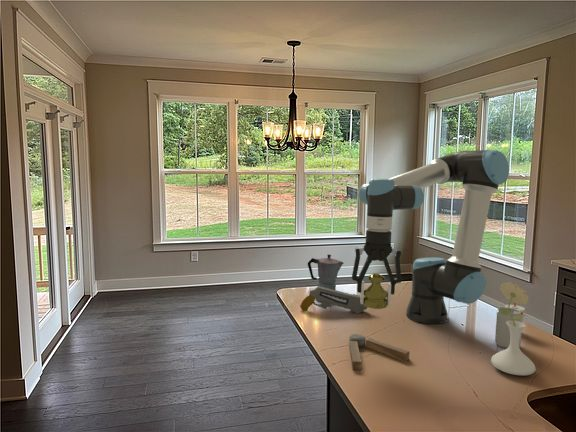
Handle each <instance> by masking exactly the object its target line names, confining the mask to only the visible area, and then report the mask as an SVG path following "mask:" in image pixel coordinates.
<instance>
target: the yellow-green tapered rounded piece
mask: <svg viewBox="0 0 576 432" xmlns="http://www.w3.org/2000/svg"><path fill="white" fill-rule="evenodd" d="M367 279H368V280H369V281H370V282H371V284H370V285H369V286H368V287H366V288H364V299H363V305H364V306H366V307H367V309H368V308H370V309H374V310H383V309H385V308H387V307H388V305H387V301H388V300H387V296H388V292H387V290H386V289H384V287H383V286H382V282H383V281H385V276H383V275H382V274H380V273H378V272H374V273H372V274H370V275H368V276H367Z"/></svg>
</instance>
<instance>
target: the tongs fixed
mask: <svg viewBox="0 0 576 432" xmlns="http://www.w3.org/2000/svg"><path fill="white" fill-rule="evenodd" d="M348 340H349V342H348V345H349V346H348V349H349V353H350V354H349V355H350V361H351V366H352V367H351V368H352V370H353V371H354V370H355V371H361V370H362V359H361V353H360V349H363V348H366V340H367V339H366V336H364V335H363V334H359V333H358V334H357V333H355V334H350V335H349V337H348Z"/></svg>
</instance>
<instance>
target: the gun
mask: <svg viewBox="0 0 576 432" xmlns="http://www.w3.org/2000/svg"><path fill="white" fill-rule="evenodd" d="M360 297H361V294H360V295H359V294H356V293H349V292H345V291H344V292H343V291H339V290H333V289H329V288H324V287H319V286H318V285H317V286H316V287H315V288H314V289H312V290H309V295H307V296H306V297H305V298H304V299H303V300H302V301H301V304H299V307H300V310H301V311H302V312H308V310H309V308H310V307H311V306H312V305H314V306H317V307H319V308H322V309H324V310H327V308H331V307H332V306H336V307H339V308H343V309H345V310H350V311H351V312H354V313H356V314H360V313H363V312H364V311H365V310H367V309H368V307H366V306H364V305H363V304H361V302H360ZM316 300H317V301H319V300H320V301H319V302H321V303H320V304H317V303H316V302H315V301H316Z"/></svg>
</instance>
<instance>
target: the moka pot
mask: <svg viewBox="0 0 576 432" xmlns="http://www.w3.org/2000/svg"><path fill="white" fill-rule="evenodd" d="M331 257H332V254H327V257H324V258H323V257H321V258H313V257H312V258H311V259H310V260H309V261H308V262H307V267H308V270H309V274H310V277H311V279H312V280H317V279H318V283H317V286H319V287H324V288H329V289H333V290H336V289H337V288H336V287H337V286H336V280H337V278H338V274H339V271H340V269H341V268H342V266H343V265H344V262H343V261H342V260H338V259H336V258H331ZM312 263H314V264H317V275H318V278H317V277H314V273H313V269H312ZM336 291H337V290H336ZM318 301H319V302H321V301H320V300H318Z"/></svg>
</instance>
